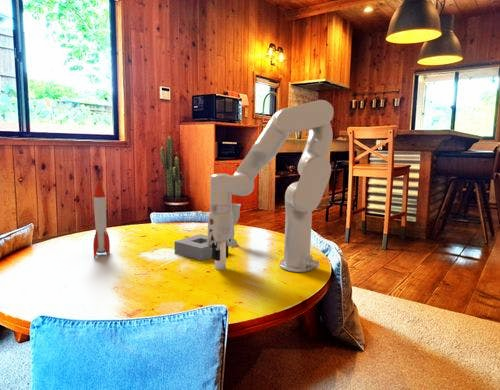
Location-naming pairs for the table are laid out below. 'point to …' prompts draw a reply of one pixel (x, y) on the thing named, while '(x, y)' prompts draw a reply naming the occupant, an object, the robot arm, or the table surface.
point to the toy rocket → (100, 222)
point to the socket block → (194, 247)
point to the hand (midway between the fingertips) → (220, 257)
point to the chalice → (235, 220)
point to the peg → (221, 257)
